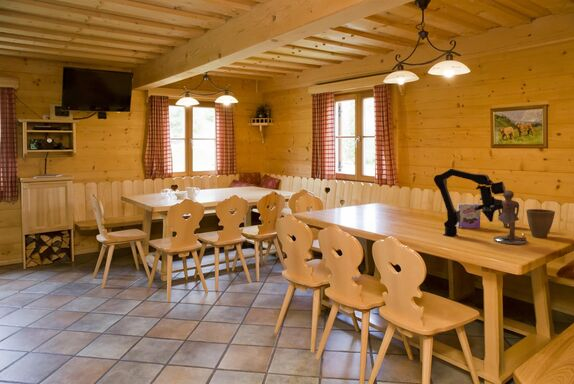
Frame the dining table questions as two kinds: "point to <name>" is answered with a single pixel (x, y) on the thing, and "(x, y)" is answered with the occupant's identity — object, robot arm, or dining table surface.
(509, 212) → the clay figurine
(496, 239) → the post base
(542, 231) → the plant pot
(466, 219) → the candy box
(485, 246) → the dining table surface
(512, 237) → the crank handle
